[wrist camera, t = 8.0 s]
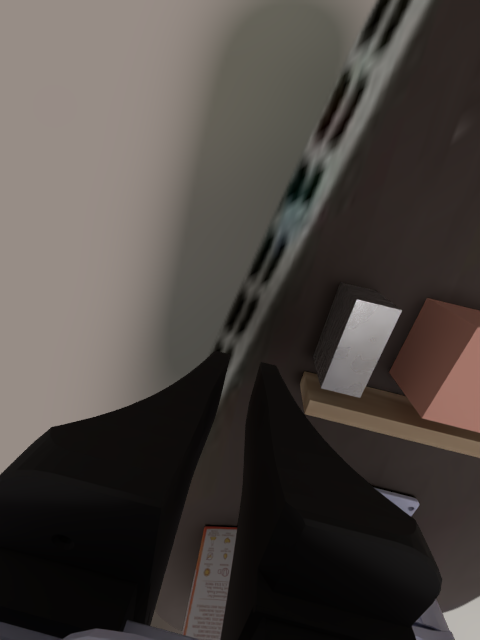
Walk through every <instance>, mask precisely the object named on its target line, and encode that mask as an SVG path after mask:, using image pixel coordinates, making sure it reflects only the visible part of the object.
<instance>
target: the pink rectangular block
mask: <svg viewBox="0 0 480 640" xmlns="http://www.w3.org/2000/svg"><path fill="white" fill-rule="evenodd" d="M389 373H390V375H391V376H392V377H393V379H394V380H395V381H396V383H397V384H398V386H399V387H400V388H401V390H402V391H403V393H404V394H405V395H406V397H407V398H408V400H409V401H410V402H411V404H412V405H413V407H414V408H415V409H416V411H417V412H418V414H419V415H420V416H421V418H423V419H427V420H431V421H435V422H439V423H443V424H447V425H451V426H455V427H459V428H463V429H467V430H471V431H475V432H479V433H480V311H479V310H475V309H471V308H467V307H462V306H458V305H454V304H450V303H446V302H442V301H438V300H433V299H429V298H427V299H426V301H425V303H424V305H423V307H422V309H421V311H420V313H419V315H418V317H417V319H416V320H415V322H414V324H413V326H412V328H411V330H410V332H409V334H408V336H407V338H406V340H405V342H404V344H403V346H402V348H401V350H400V352H399V354H398V356H397V358H396V360H395V362H394V364H393V365H392V367H391V369H390V371H389Z"/></svg>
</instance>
